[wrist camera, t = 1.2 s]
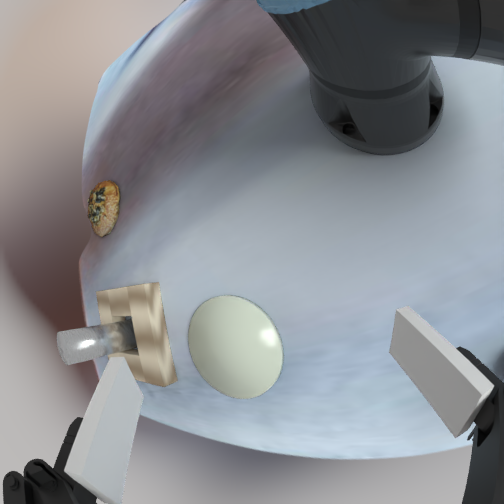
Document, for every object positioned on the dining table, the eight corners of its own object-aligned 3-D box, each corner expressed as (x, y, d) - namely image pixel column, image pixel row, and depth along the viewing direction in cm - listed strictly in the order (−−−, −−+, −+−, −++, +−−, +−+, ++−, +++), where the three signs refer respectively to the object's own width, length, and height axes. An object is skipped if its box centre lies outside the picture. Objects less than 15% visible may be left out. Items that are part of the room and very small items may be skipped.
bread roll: (94, 193, 52) (76, 189, 48) (126, 173, 48) (107, 168, 44) (97, 242, 51) (79, 241, 47) (131, 227, 47) (111, 226, 43)
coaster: (184, 299, 38) (180, 300, 37) (274, 289, 31) (271, 290, 30) (202, 390, 37) (198, 392, 36) (290, 399, 30) (287, 402, 29)
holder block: (108, 290, 48) (96, 291, 46) (159, 282, 41) (144, 283, 38) (123, 369, 47) (111, 372, 44) (177, 381, 39) (164, 387, 37)
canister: (127, 318, 45) (54, 330, 32) (143, 318, 43) (64, 332, 30) (132, 344, 45) (61, 362, 32) (149, 346, 42) (72, 367, 29)
